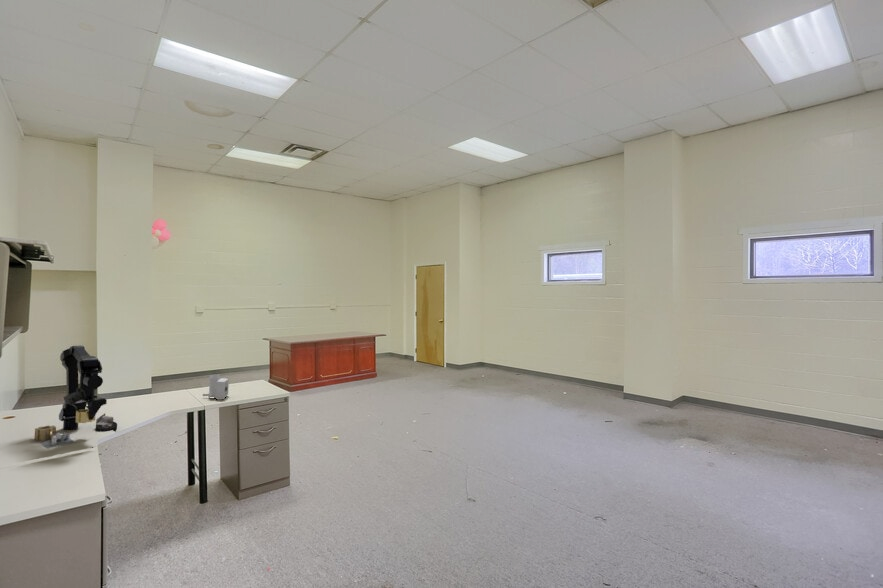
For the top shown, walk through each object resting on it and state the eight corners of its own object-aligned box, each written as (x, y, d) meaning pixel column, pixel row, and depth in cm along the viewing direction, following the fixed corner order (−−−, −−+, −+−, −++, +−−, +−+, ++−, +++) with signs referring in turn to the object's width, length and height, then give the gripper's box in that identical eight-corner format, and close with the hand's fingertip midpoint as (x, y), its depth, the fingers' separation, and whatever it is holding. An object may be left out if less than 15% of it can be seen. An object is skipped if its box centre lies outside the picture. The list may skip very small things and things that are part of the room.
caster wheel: (109, 439, 213) (87, 436, 212) (124, 427, 224) (103, 424, 223) (110, 426, 212) (88, 423, 211) (125, 415, 223) (104, 412, 222)
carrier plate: (34, 442, 197) (34, 430, 198) (62, 437, 206) (63, 425, 206) (46, 451, 187) (47, 439, 187) (75, 445, 195) (76, 434, 195)
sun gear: (48, 440, 197) (48, 434, 197) (66, 436, 202) (67, 431, 202) (52, 443, 193) (53, 437, 193) (71, 439, 199) (71, 434, 199)
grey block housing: (223, 400, 289) (224, 377, 289) (200, 400, 286) (201, 377, 286) (228, 396, 301) (229, 374, 301) (205, 396, 298) (206, 374, 298)
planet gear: (73, 421, 201) (74, 410, 201) (91, 418, 207) (92, 407, 207) (78, 424, 197) (79, 413, 197) (97, 421, 203) (97, 410, 203)
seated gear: (32, 438, 197) (33, 427, 198) (52, 435, 203) (53, 424, 203) (37, 442, 194) (37, 430, 194) (57, 438, 199) (57, 427, 199)
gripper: (54, 385, 198) (52, 420, 198) (81, 390, 191) (79, 426, 191) (81, 382, 208) (79, 414, 208) (108, 386, 202) (106, 419, 202)
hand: (85, 418), depth 202 cm, fingers closed on planet gear, 7 cm apart
